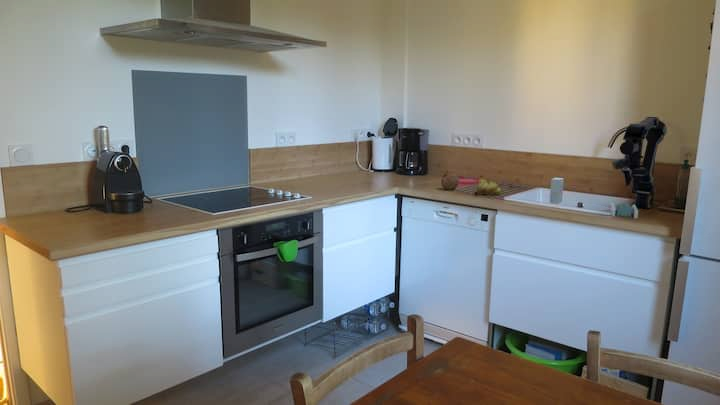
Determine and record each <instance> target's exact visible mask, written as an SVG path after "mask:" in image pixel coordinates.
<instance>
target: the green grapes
mask: <svg viewBox="0 0 720 405" xmlns="http://www.w3.org/2000/svg"><path fill="white" fill-rule="evenodd" d="M476 186H477V187H476V193H477V194H478V193H479V195H485V194H486V195H485V196H496V195H500V194H501V193H502V188H500V187H499V185H498V183H496V182H495V181H491V180H490V181H488V180H487V179H486V178H483V177H482V178H479V179H478V181H477V185H476Z"/></svg>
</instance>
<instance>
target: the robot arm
mask: <svg viewBox="0 0 720 405" xmlns="http://www.w3.org/2000/svg"><path fill="white" fill-rule="evenodd" d="M666 135H667V125H666V124H665V123H664V122H663V121H662V120H660V118H659V117H657V116H647V117H645V119H643V120H641V121H639V122H638V123H629V125H628V126H627V127H626V130H625V132H624V135H623V138H622V140H623V141H624V142H622V143H621V144H620V146H619V151H620V153H621V154H622V155H624V157H623V158H619V159H616V160H612V161H611V164H612V168H613V169H614V170H616V171H617V170H619V171H620V172H621V173H622V174H623V177H624V178H623V179H624V182H625V186H626V187H629V186H630V185H631V193H632V194H635V202H634V203H633V204H632V205H635V206H636V208H640V209H641V208H642V209H651V206H650V199H651V198H650V197H652V196H655V194H656V188H655V184H654V178H653V175H652V173H653V168H654V164H655V159H656V154H657V150H658V148H659V145H660V144H661V142H663V140H664V139H665V136H666ZM644 140H646V147H645V151H644V155H643V145H644ZM642 159H643V160H642ZM631 182H632V183H631Z"/></svg>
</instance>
